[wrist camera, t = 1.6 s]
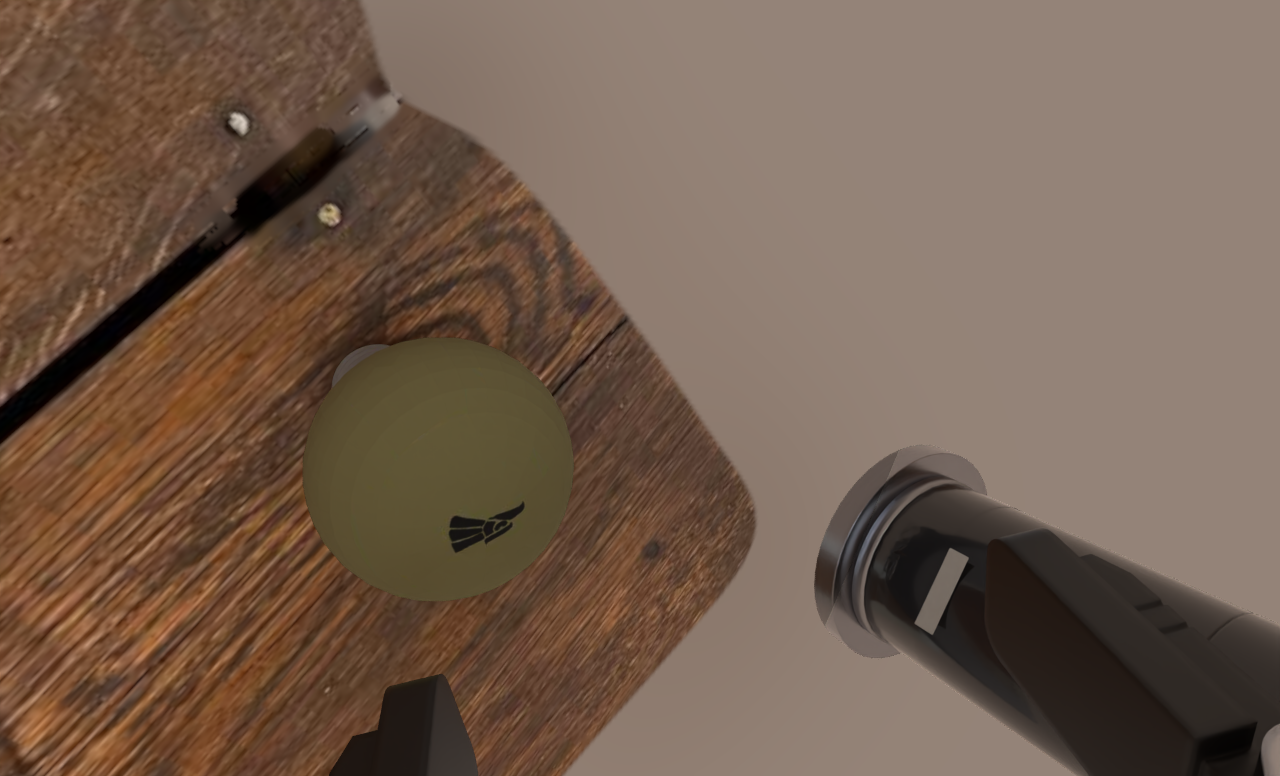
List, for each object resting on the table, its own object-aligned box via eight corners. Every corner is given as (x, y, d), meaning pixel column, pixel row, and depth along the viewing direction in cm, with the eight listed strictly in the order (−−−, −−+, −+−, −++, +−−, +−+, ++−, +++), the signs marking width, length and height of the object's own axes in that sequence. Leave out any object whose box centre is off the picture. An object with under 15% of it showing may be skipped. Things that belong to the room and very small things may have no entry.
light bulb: (347, 507, 23) (448, 710, 15) (217, 364, 20) (255, 517, 12) (496, 394, 25) (662, 524, 17) (395, 246, 22) (535, 314, 14)
